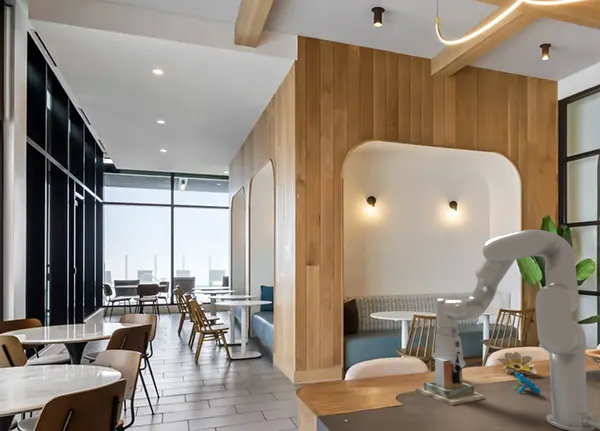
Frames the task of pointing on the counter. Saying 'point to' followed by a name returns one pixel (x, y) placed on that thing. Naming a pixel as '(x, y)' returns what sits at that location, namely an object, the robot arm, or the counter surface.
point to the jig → (450, 393)
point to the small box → (445, 374)
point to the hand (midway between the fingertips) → (448, 380)
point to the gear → (525, 384)
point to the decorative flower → (517, 364)
